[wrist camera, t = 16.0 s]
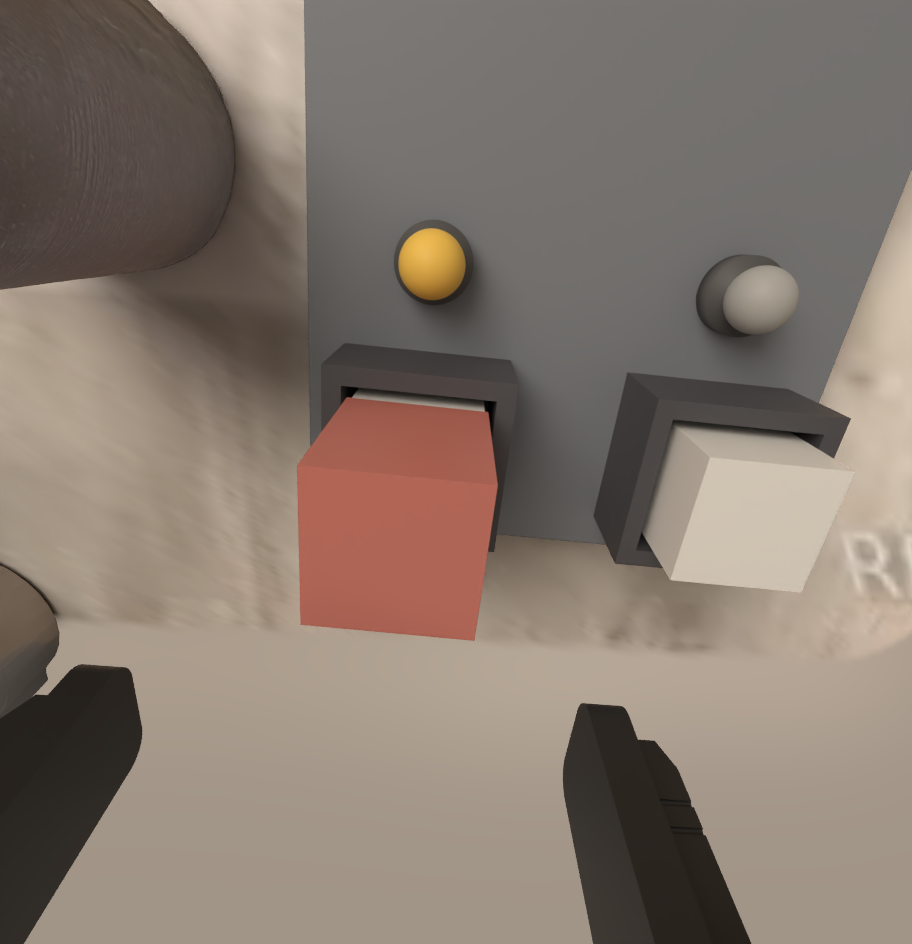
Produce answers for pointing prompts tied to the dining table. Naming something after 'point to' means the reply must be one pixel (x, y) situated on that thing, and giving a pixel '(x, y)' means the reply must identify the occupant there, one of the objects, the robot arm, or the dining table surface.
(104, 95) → the pillar candle
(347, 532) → the cap
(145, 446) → the dining table surface
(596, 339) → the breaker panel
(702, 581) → the block
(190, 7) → the dining table surface
